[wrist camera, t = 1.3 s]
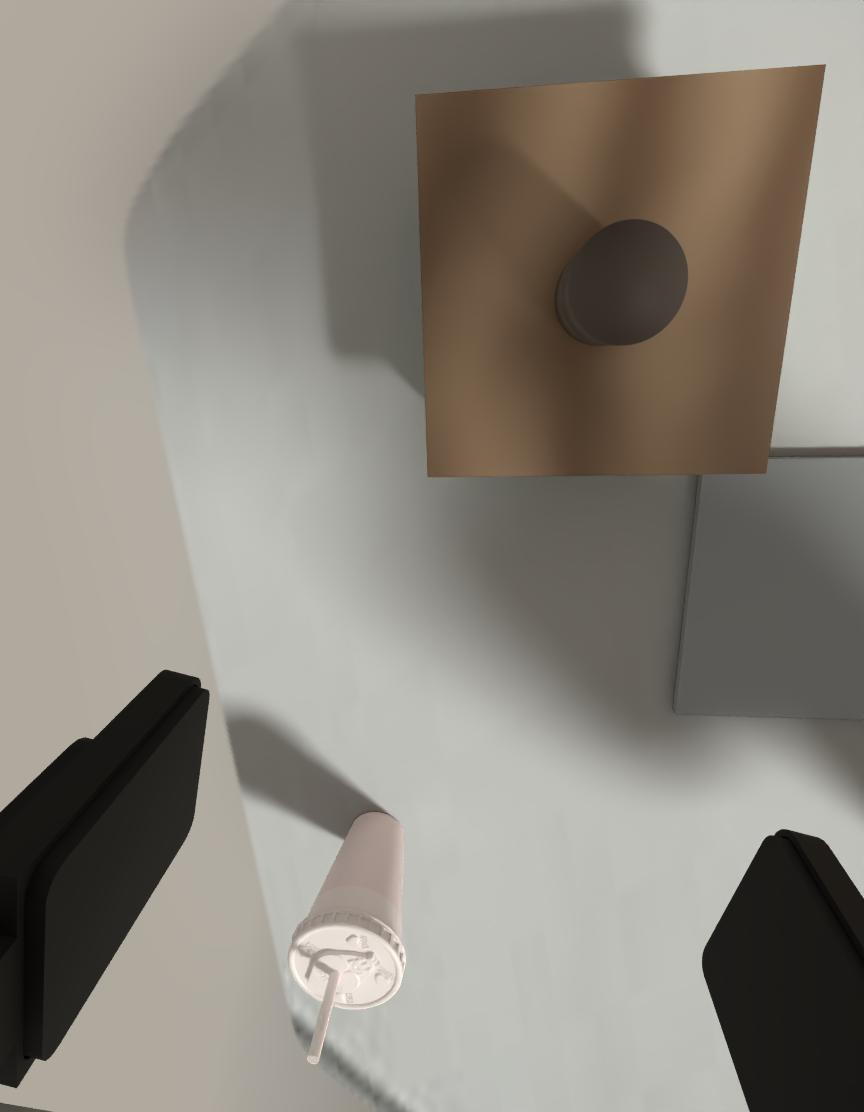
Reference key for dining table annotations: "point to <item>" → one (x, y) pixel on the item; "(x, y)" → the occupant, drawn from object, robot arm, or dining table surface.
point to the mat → (776, 593)
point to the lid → (611, 271)
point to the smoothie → (354, 925)
